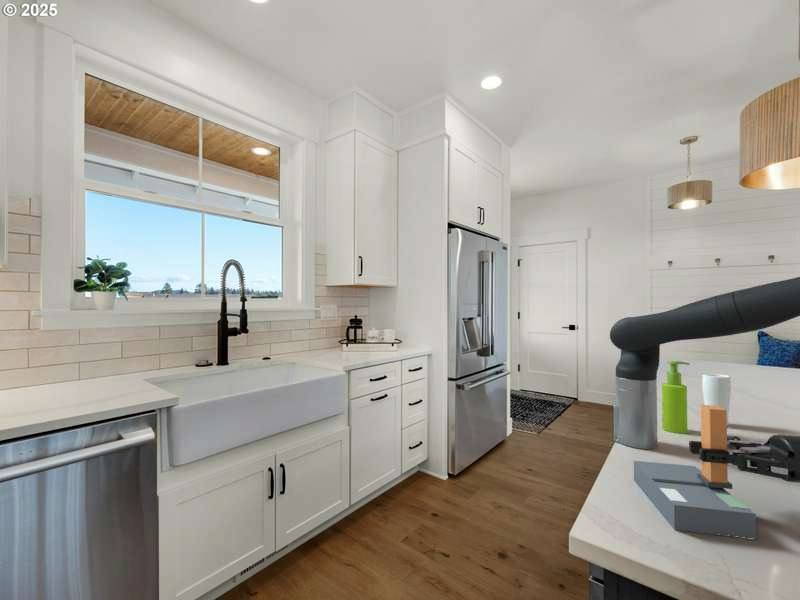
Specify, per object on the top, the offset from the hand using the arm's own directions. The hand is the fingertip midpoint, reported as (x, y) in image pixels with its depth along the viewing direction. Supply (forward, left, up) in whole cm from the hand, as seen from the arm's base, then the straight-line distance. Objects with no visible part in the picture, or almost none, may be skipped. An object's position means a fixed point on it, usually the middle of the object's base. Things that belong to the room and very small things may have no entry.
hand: (695, 450), depth 68 cm
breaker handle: (+2, +1, -6) cm, 6 cm away
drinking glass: (-1, +64, -10) cm, 65 cm away
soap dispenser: (-9, +49, -10) cm, 51 cm away
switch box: (-1, -1, -10) cm, 10 cm away
